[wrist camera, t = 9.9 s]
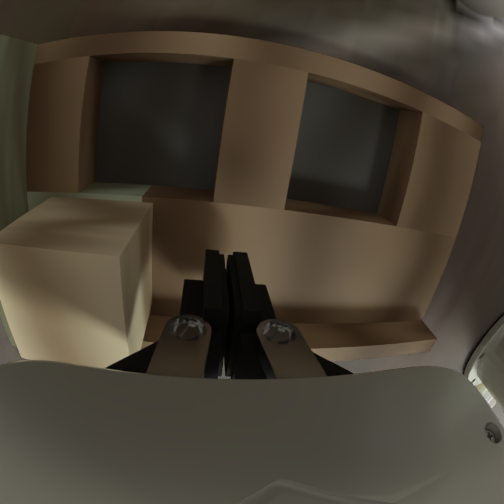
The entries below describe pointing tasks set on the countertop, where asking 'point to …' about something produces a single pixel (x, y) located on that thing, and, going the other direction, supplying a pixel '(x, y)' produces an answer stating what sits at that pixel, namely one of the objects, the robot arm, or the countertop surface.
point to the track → (250, 172)
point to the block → (78, 279)
